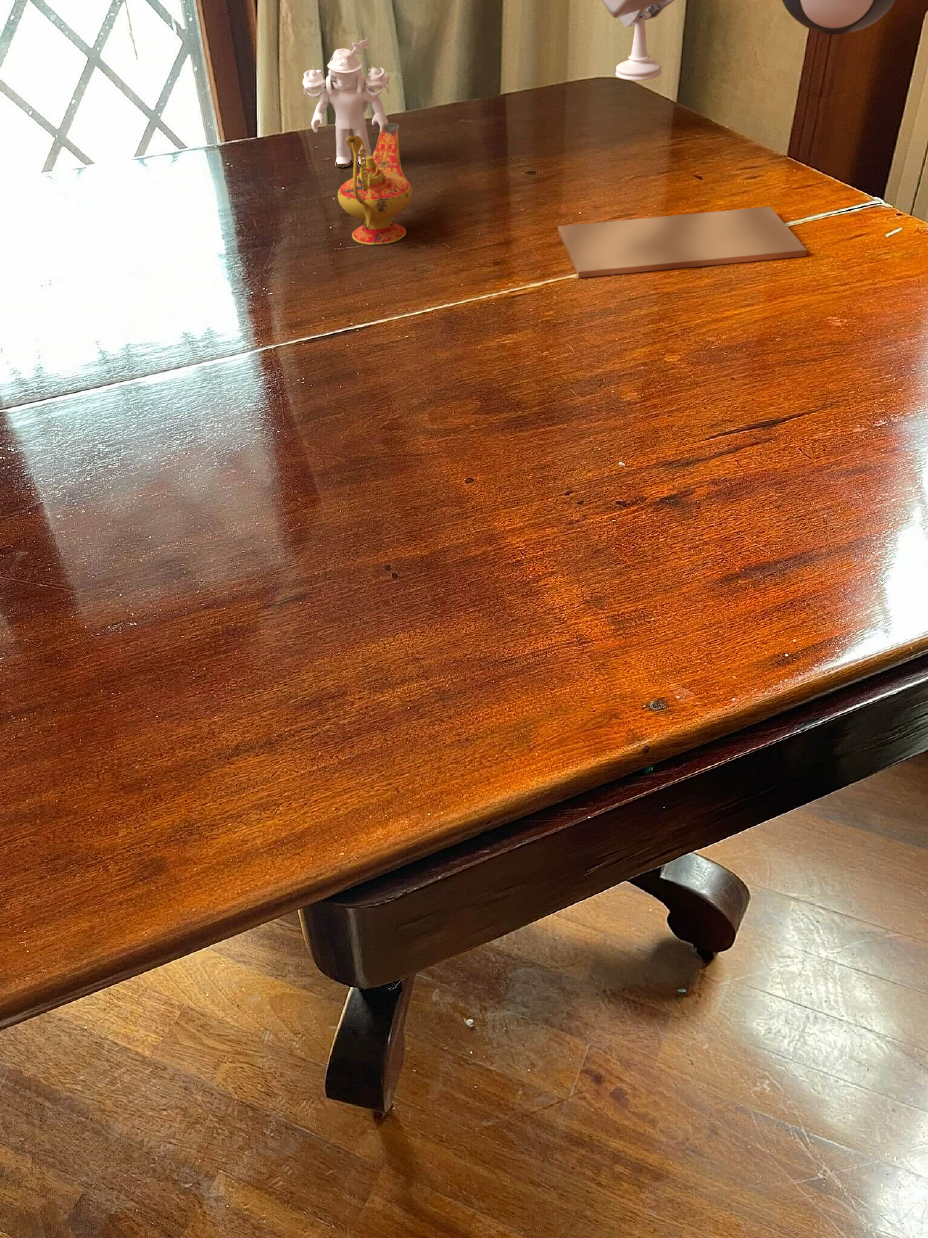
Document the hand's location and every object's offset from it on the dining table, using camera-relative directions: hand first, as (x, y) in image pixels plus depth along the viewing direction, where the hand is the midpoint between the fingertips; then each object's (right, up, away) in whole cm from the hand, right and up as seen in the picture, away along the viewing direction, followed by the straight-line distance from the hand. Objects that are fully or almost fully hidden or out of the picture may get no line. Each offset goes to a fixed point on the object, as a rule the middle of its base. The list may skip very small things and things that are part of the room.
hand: (635, 16), depth 114 cm
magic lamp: (-26, -26, -10) cm, 38 cm away
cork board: (+1, -29, -16) cm, 33 cm away
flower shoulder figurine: (-30, -14, +3) cm, 33 cm away
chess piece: (+1, -4, +3) cm, 6 cm away
